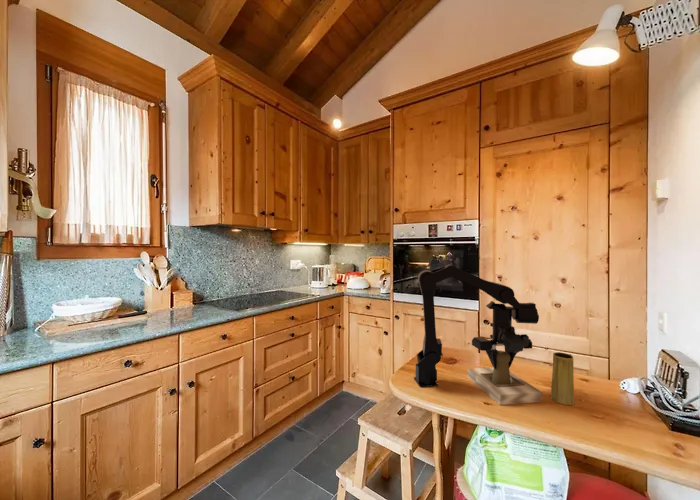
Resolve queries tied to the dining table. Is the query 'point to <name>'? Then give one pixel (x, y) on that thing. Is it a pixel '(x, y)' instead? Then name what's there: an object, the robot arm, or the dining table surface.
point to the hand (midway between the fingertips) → (501, 367)
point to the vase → (562, 379)
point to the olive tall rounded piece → (502, 369)
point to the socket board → (505, 387)
